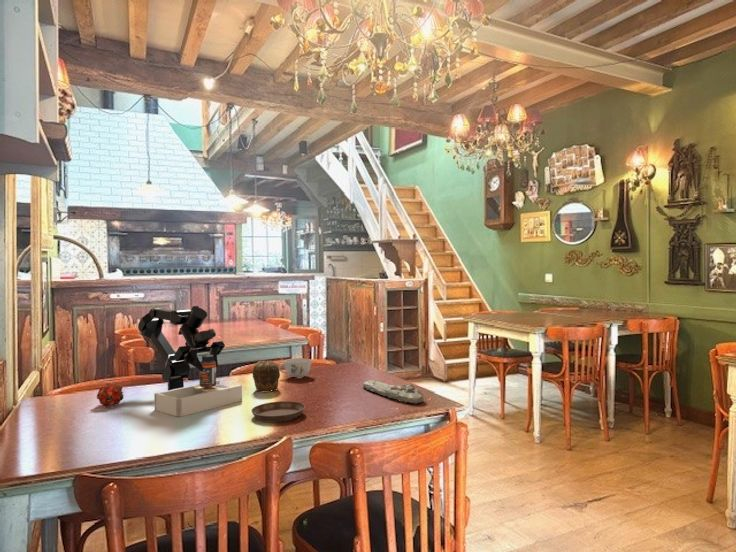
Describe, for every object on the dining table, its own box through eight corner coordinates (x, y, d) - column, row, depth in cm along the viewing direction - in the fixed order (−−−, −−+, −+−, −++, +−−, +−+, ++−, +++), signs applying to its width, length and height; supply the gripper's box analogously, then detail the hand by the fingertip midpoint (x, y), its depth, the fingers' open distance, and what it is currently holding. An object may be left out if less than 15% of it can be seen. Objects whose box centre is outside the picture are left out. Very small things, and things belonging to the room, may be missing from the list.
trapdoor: (192, 395, 187) (192, 387, 187) (213, 391, 194) (213, 383, 194) (211, 400, 179) (211, 391, 179) (232, 395, 186) (232, 387, 186)
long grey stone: (376, 388, 211) (356, 393, 205) (375, 376, 211) (355, 380, 205) (431, 401, 182) (410, 407, 176) (430, 386, 182) (409, 392, 176)
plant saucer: (243, 424, 160) (243, 414, 159) (262, 408, 177) (262, 400, 177) (296, 425, 157) (296, 416, 157) (310, 410, 175) (310, 401, 175)
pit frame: (154, 409, 176) (154, 393, 176) (217, 394, 197) (217, 380, 197) (178, 417, 167) (178, 399, 167) (242, 400, 188) (241, 385, 188)
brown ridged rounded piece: (247, 392, 200) (247, 362, 200) (260, 386, 211) (259, 358, 211) (273, 394, 197) (272, 363, 197) (284, 387, 208) (283, 358, 208)
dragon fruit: (114, 404, 190) (111, 417, 179) (93, 394, 187) (89, 406, 176) (128, 386, 191) (126, 398, 180) (108, 375, 188) (104, 386, 177)
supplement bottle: (196, 387, 182) (196, 357, 182) (203, 384, 188) (203, 354, 188) (212, 388, 182) (211, 357, 181) (218, 384, 188) (218, 354, 187)
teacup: (309, 373, 236) (309, 356, 236) (314, 379, 224) (314, 361, 224) (277, 376, 232) (277, 358, 232) (280, 381, 220) (280, 363, 220)
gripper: (178, 324, 180) (196, 358, 173) (222, 320, 194) (240, 351, 188) (166, 344, 185) (183, 378, 178) (210, 338, 199) (227, 369, 193)
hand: (209, 368), depth 184 cm, fingers closed on supplement bottle, 6 cm apart
